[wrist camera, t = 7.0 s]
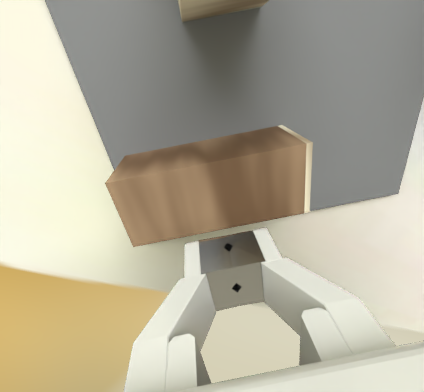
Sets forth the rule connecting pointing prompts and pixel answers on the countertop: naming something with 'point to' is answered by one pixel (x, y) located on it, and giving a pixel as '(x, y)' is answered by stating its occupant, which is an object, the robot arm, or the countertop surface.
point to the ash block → (214, 7)
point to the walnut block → (212, 184)
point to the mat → (257, 80)
